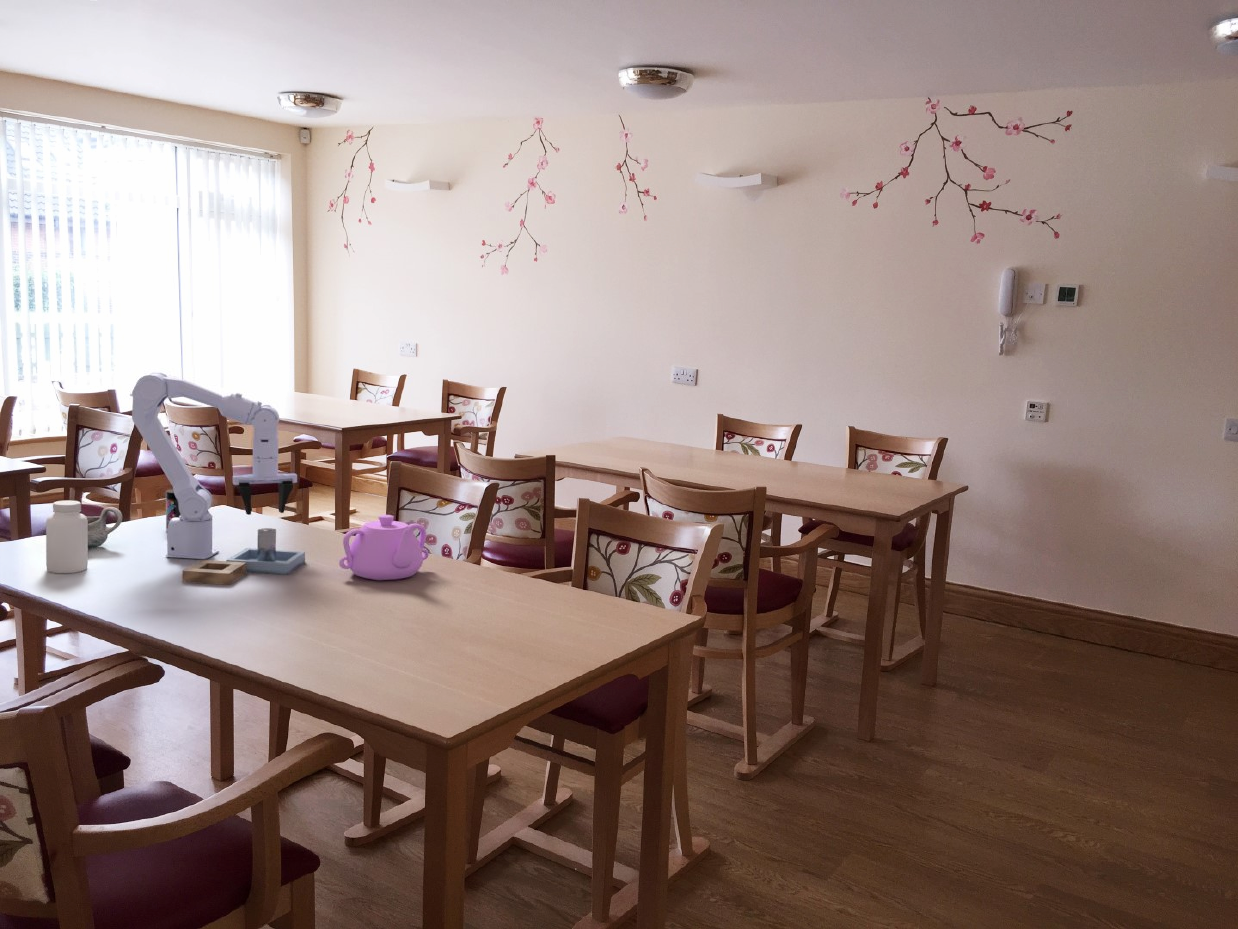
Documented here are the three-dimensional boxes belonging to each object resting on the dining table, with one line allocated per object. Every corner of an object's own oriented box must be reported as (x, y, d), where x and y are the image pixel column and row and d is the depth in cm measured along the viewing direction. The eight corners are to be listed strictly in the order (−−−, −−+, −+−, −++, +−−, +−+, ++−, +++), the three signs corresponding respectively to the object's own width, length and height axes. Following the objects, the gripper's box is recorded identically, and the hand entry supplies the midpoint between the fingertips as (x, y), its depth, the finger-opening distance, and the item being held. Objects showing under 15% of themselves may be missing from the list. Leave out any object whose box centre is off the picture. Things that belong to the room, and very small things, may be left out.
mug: (64, 544, 241) (64, 503, 239) (123, 542, 246) (122, 502, 245) (61, 553, 232) (61, 511, 231) (122, 551, 238) (121, 510, 236)
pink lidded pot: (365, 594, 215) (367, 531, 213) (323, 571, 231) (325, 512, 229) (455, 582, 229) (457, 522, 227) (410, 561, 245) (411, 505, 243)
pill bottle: (86, 573, 217) (85, 505, 215) (43, 575, 214) (42, 506, 212) (90, 564, 225) (89, 498, 222) (49, 565, 222) (48, 499, 219)
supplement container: (172, 526, 266) (172, 487, 265) (198, 528, 266) (198, 489, 265) (161, 531, 260) (161, 492, 258) (187, 533, 260) (187, 493, 258)
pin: (254, 565, 230) (254, 531, 229) (261, 561, 234) (261, 527, 233) (271, 566, 230) (272, 532, 229) (278, 562, 234) (278, 528, 233)
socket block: (182, 582, 215) (182, 570, 215) (202, 570, 225) (202, 559, 225) (228, 584, 215) (228, 573, 215) (246, 573, 225) (246, 562, 225)
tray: (226, 570, 226) (226, 560, 226) (246, 558, 238) (246, 548, 238) (287, 574, 226) (288, 563, 226) (304, 562, 238) (305, 551, 238)
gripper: (237, 460, 231) (237, 518, 233) (300, 458, 239) (300, 514, 241) (230, 455, 237) (230, 512, 239) (292, 454, 245) (292, 508, 247)
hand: (265, 513), depth 241 cm, fingers open, 7 cm apart
